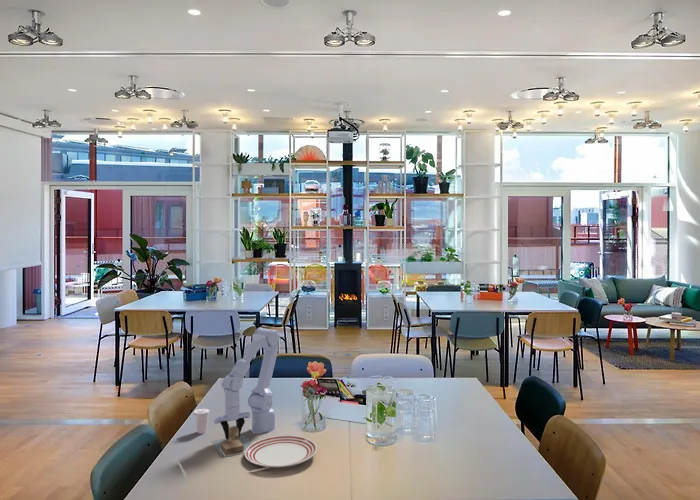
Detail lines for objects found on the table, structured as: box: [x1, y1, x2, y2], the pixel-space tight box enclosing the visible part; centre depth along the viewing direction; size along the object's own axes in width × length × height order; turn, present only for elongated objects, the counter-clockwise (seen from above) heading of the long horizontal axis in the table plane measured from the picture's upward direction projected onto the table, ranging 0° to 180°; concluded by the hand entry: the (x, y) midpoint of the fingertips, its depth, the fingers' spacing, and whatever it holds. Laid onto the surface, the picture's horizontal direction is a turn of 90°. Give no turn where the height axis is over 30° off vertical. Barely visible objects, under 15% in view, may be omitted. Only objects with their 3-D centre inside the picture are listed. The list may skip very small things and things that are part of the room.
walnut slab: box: [221, 440, 244, 455], centre depth 208 cm, size 7×7×2 cm
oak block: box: [227, 425, 239, 441], centre depth 218 cm, size 4×4×5 cm
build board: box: [211, 434, 253, 459], centre depth 212 cm, size 14×18×1 cm
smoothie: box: [193, 400, 210, 435], centre depth 227 cm, size 6×6×14 cm
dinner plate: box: [244, 434, 318, 469], centre depth 202 cm, size 28×27×3 cm
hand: (232, 437), depth 218 cm, fingers closed on oak block, 4 cm apart
